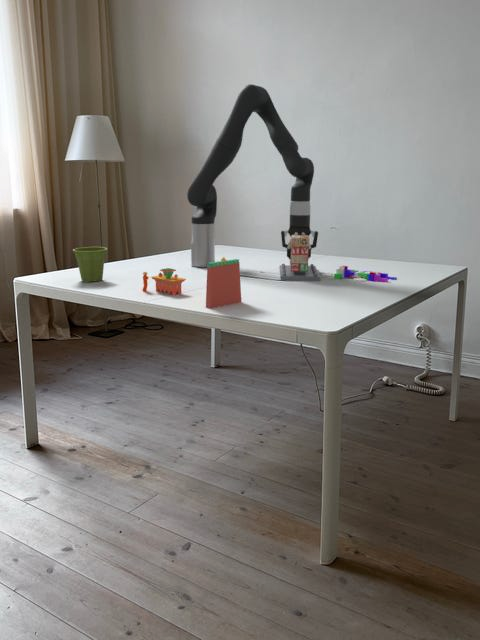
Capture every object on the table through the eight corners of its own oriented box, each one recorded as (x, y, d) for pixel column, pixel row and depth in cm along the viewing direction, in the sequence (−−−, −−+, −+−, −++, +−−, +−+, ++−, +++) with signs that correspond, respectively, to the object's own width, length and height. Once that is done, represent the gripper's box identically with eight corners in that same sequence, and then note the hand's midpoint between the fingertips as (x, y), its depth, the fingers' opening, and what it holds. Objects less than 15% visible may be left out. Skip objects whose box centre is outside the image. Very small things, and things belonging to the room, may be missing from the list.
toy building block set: (210, 309, 180) (209, 259, 176) (137, 292, 204) (136, 248, 200) (241, 302, 188) (241, 255, 185) (168, 287, 212) (167, 245, 209)
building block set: (404, 278, 234) (404, 265, 232) (380, 285, 218) (381, 273, 217) (343, 271, 248) (344, 260, 247) (317, 278, 232) (317, 266, 231)
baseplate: (280, 280, 224) (280, 273, 224) (279, 269, 250) (279, 263, 249) (320, 280, 224) (320, 274, 223) (314, 269, 249) (315, 263, 248)
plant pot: (80, 277, 230) (78, 246, 227) (112, 277, 229) (111, 246, 226) (69, 283, 218) (67, 250, 215) (103, 283, 217) (102, 251, 215)
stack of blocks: (289, 262, 247) (290, 231, 244) (305, 263, 247) (306, 231, 244) (290, 271, 226) (291, 237, 223) (308, 271, 226) (309, 237, 223)
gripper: (280, 214, 228) (279, 260, 232) (320, 214, 227) (318, 260, 231) (280, 212, 235) (279, 257, 239) (318, 213, 235) (317, 257, 239)
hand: (298, 258), depth 235 cm, fingers closed on stack of blocks, 6 cm apart
